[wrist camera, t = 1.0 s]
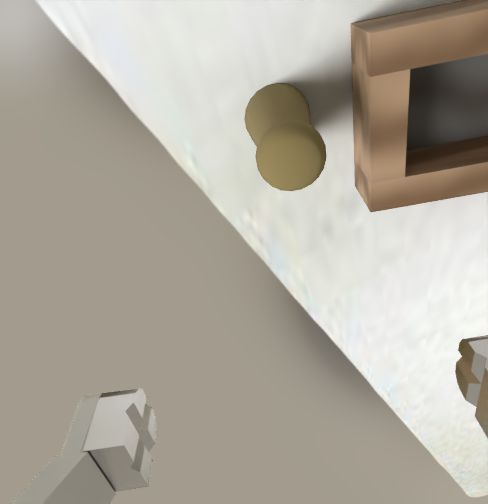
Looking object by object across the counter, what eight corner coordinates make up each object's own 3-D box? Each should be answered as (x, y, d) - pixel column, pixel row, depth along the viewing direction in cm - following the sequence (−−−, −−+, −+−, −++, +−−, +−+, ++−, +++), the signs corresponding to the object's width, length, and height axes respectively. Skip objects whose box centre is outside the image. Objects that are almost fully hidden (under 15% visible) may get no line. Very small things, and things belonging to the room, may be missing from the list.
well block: (350, 23, 34) (370, 33, 30) (603, -29, 33) (663, -27, 28) (355, 185, 43) (370, 212, 38) (555, 149, 41) (595, 172, 37)
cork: (255, 74, 36) (266, 113, 27) (319, 94, 37) (350, 136, 28) (237, 139, 39) (241, 193, 30) (296, 155, 41) (317, 211, 32)
